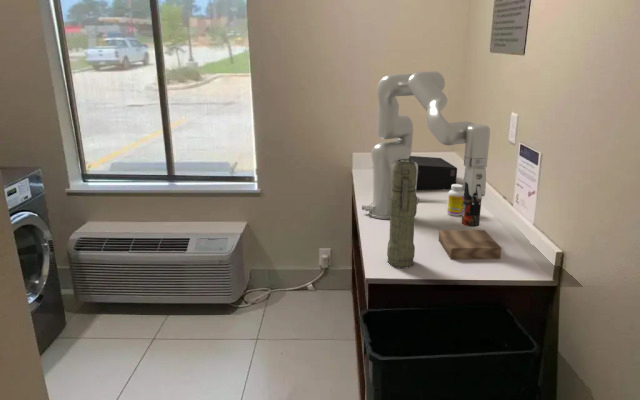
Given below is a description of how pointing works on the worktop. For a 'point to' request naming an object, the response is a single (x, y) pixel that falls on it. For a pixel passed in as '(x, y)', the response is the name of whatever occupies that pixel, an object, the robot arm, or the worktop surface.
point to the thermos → (402, 214)
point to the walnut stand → (469, 244)
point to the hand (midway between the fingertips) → (471, 211)
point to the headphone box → (434, 173)
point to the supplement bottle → (455, 200)
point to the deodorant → (466, 218)
